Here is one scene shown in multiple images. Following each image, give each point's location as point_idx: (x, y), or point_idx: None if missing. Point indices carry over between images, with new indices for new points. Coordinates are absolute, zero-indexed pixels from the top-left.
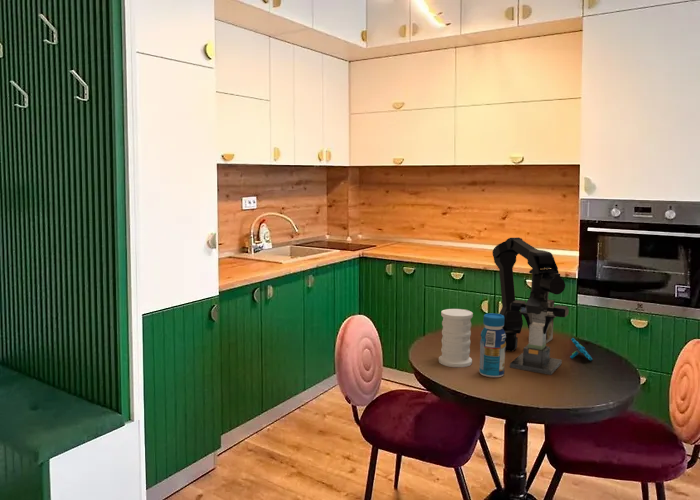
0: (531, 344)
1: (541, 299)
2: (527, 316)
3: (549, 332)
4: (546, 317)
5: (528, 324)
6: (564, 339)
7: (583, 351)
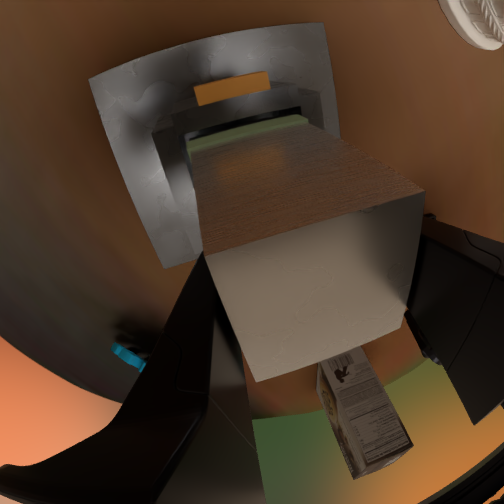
0: (281, 126)
1: None
2: None
3: (325, 397)
4: (132, 474)
5: (434, 227)
6: (291, 403)
7: (118, 355)
